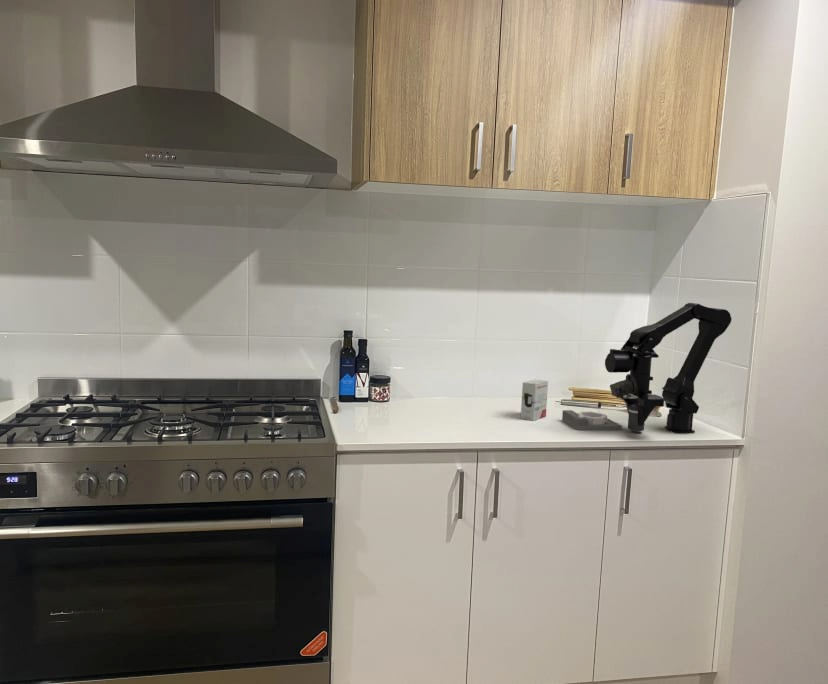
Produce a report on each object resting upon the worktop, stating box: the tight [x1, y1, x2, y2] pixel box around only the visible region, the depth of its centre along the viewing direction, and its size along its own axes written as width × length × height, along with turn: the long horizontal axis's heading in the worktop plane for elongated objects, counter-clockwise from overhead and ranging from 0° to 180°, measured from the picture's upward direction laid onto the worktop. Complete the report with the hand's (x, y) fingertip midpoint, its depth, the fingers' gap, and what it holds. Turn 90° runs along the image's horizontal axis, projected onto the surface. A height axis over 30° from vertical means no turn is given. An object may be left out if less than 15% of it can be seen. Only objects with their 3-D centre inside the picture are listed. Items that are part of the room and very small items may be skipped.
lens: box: [627, 404, 645, 432], centre depth 199 cm, size 5×5×7 cm
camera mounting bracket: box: [561, 409, 623, 431], centre depth 206 cm, size 14×12×4 cm
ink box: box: [520, 378, 549, 422], centre depth 213 cm, size 9×5×12 cm, turn 141°
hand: (636, 423), depth 199 cm, fingers closed on lens, 5 cm apart
